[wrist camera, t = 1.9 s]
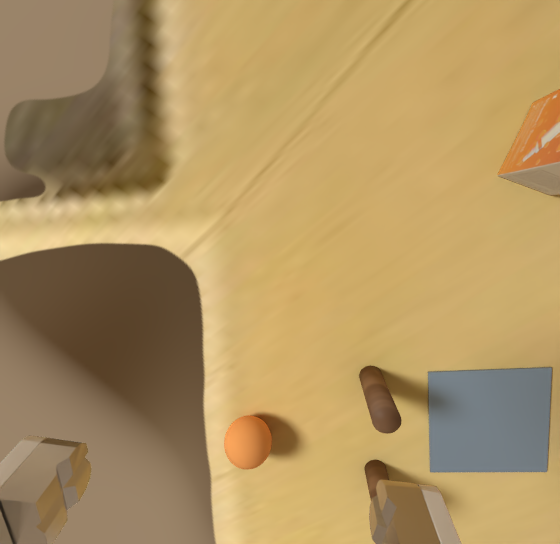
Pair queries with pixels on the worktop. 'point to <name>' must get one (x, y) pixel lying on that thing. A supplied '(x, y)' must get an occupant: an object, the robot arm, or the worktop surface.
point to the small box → (537, 148)
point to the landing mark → (489, 420)
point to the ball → (248, 442)
